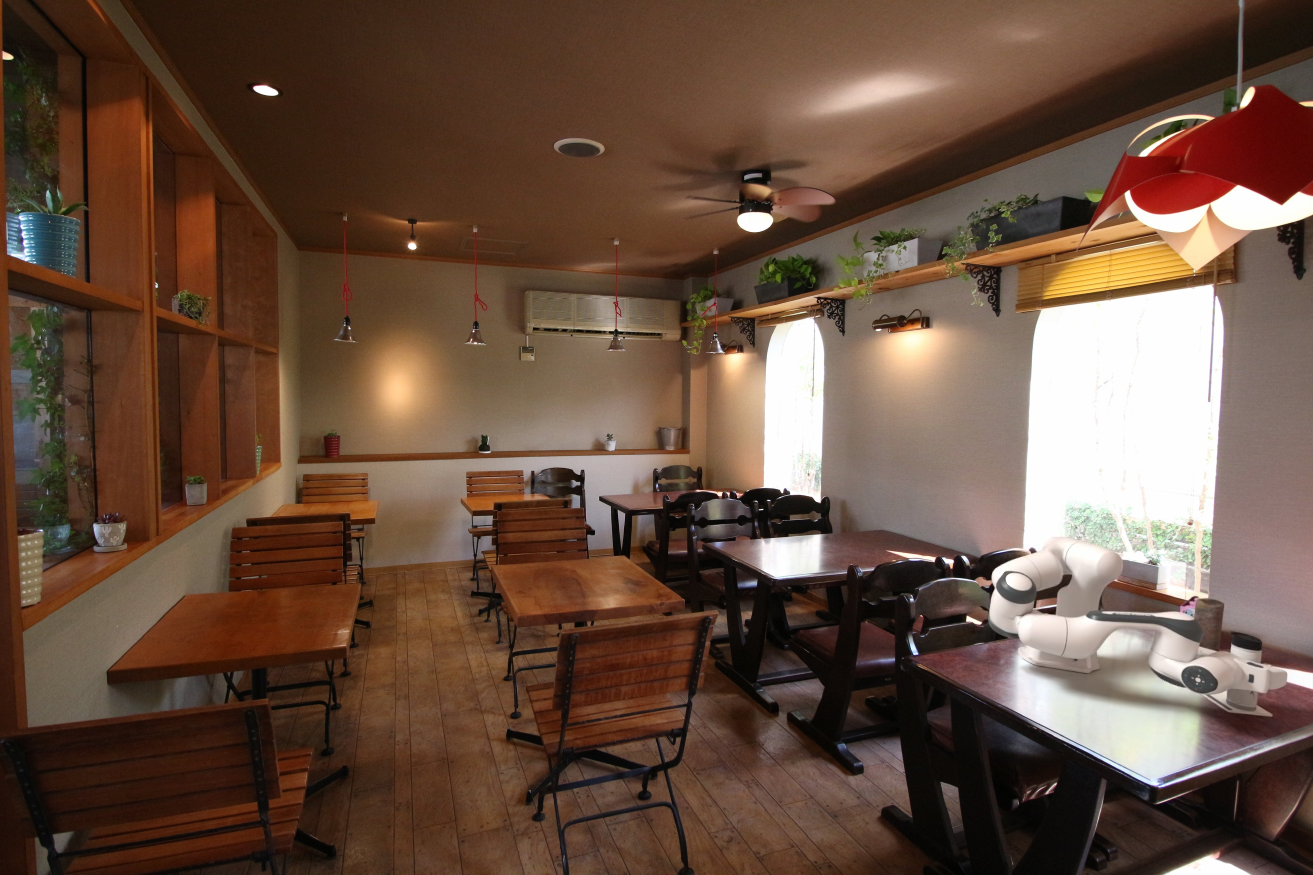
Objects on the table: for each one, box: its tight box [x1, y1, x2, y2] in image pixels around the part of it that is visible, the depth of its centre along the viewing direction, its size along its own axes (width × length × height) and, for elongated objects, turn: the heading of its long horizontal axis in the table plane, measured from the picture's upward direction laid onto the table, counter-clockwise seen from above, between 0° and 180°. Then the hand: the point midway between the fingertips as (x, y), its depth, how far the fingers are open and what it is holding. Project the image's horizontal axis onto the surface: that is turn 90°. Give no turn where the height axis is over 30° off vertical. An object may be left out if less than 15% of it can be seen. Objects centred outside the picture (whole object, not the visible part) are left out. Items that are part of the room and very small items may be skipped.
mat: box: [1201, 691, 1273, 717], centre depth 186 cm, size 10×16×1 cm, turn 170°
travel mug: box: [1226, 630, 1263, 711], centre depth 181 cm, size 6×7×20 cm
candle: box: [1194, 597, 1225, 652], centre depth 218 cm, size 8×7×20 cm
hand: (1246, 660), depth 182 cm, fingers open, 8 cm apart
